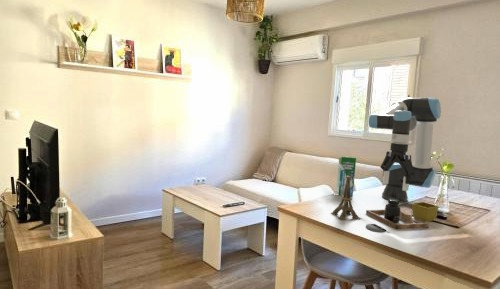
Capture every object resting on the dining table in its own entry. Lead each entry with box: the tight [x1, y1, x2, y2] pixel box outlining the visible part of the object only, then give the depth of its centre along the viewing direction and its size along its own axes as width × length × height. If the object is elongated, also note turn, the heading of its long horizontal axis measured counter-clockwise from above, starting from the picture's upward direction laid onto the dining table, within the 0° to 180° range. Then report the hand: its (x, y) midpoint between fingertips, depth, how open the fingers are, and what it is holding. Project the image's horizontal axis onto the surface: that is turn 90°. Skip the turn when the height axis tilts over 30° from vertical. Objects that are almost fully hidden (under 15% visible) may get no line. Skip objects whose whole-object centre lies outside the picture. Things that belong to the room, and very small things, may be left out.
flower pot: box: [411, 201, 440, 223], centre depth 164 cm, size 9×9×9 cm
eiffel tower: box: [330, 174, 361, 221], centre depth 165 cm, size 11×11×25 cm
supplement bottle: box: [383, 199, 402, 224], centre depth 158 cm, size 7×7×12 cm
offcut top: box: [400, 209, 413, 219], centre depth 160 cm, size 4×8×2 cm, turn 175°
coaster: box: [365, 223, 388, 233], centre depth 150 cm, size 9×9×1 cm
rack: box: [365, 209, 430, 231], centre depth 159 cm, size 18×22×4 cm
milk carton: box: [335, 155, 357, 197], centre depth 214 cm, size 9×9×25 cm
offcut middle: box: [399, 215, 414, 224], centre depth 161 cm, size 4×7×2 cm, turn 12°
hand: (394, 187), depth 157 cm, fingers open, 13 cm apart
